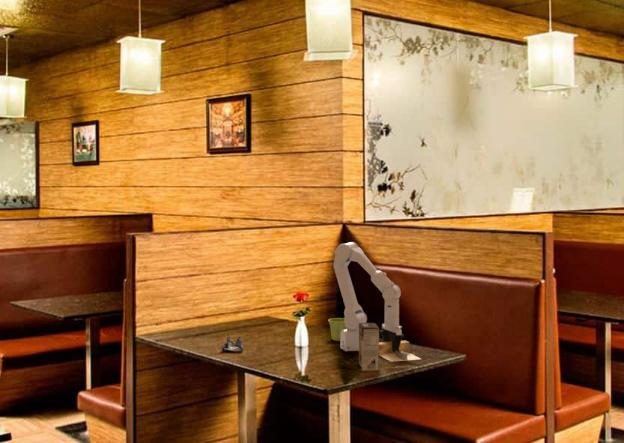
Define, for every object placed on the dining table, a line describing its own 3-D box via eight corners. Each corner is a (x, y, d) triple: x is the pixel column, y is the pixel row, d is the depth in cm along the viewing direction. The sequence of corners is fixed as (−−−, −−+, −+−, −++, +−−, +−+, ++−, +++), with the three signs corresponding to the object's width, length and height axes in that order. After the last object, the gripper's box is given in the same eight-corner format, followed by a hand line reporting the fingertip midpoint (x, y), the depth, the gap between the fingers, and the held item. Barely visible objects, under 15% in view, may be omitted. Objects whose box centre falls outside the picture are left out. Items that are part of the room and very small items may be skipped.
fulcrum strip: (402, 359, 310) (402, 353, 310) (394, 355, 316) (394, 350, 316) (407, 359, 310) (407, 353, 310) (399, 355, 317) (399, 349, 317)
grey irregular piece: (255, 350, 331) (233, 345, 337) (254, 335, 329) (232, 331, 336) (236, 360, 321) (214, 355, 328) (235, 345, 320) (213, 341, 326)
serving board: (390, 363, 307) (390, 361, 307) (374, 354, 322) (374, 352, 322) (421, 361, 311) (421, 359, 311) (403, 352, 326) (404, 350, 326)
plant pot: (324, 340, 347) (324, 320, 347) (332, 336, 356) (332, 317, 355) (345, 342, 344) (345, 322, 343) (352, 338, 352) (352, 318, 352)
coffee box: (358, 364, 305) (358, 322, 304) (375, 364, 305) (375, 322, 304) (361, 370, 296) (362, 327, 295) (379, 370, 296) (379, 327, 295)
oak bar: (377, 354, 318) (377, 344, 317) (373, 352, 321) (373, 342, 321) (409, 352, 322) (409, 342, 322) (405, 350, 326) (405, 340, 326)
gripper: (408, 318, 315) (408, 352, 316) (393, 312, 329) (393, 345, 330) (392, 319, 313) (392, 354, 314) (377, 313, 327) (377, 346, 328)
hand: (391, 349), depth 322 cm, fingers open, 7 cm apart
